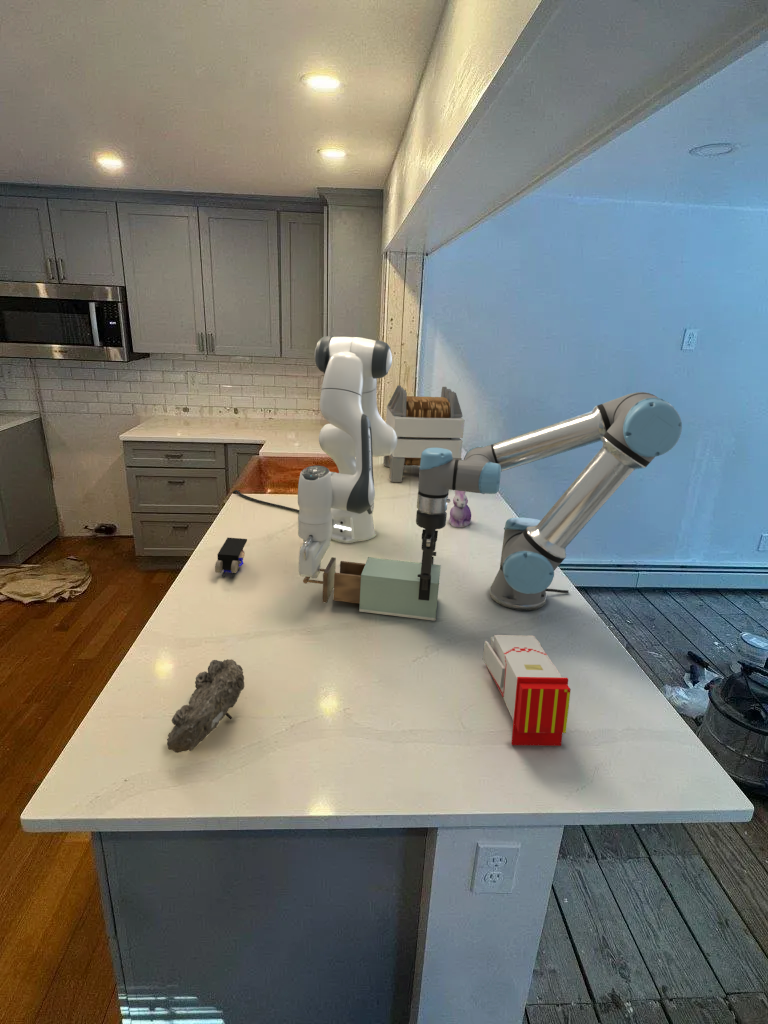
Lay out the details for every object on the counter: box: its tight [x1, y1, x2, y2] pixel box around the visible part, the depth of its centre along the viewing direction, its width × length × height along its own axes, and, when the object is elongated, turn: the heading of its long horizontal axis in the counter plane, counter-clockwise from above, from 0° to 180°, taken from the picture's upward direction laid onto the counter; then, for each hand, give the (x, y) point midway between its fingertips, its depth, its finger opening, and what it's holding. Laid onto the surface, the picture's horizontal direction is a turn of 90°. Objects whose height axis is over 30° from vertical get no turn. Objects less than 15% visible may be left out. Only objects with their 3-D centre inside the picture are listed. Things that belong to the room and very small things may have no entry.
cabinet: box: [358, 556, 442, 621], centre depth 150 cm, size 20×11×11 cm, turn 82°
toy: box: [482, 634, 572, 747], centre depth 115 cm, size 12×13×30 cm
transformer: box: [383, 384, 465, 483], centre depth 268 cm, size 34×33×41 cm
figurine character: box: [214, 537, 248, 578], centre depth 166 cm, size 7×8×15 cm
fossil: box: [166, 658, 245, 754], centre depth 106 cm, size 22×10×15 cm
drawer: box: [302, 556, 366, 604], centre depth 151 cm, size 24×10×8 cm, turn 82°
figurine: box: [448, 490, 472, 528], centre depth 209 cm, size 9×10×15 cm
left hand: (315, 576), depth 152 cm, fingers closed
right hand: (425, 588), depth 149 cm, fingers closed on cabinet, 11 cm apart
